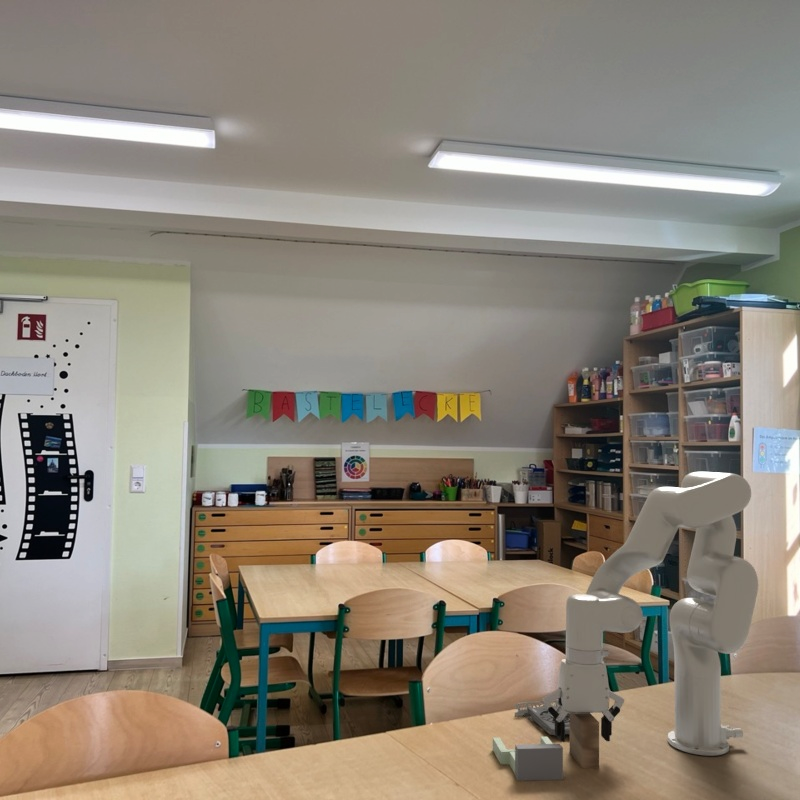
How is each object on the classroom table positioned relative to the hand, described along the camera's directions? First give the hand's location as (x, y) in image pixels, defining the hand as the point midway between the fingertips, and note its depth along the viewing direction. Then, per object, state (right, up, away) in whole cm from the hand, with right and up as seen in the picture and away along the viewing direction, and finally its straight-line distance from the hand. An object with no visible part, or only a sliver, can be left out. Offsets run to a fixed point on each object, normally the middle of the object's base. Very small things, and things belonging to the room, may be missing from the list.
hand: (583, 739), depth 155 cm
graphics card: (-3, -6, +19) cm, 20 cm away
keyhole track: (-12, -4, -3) cm, 13 cm away
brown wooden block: (0, -4, 0) cm, 4 cm away
